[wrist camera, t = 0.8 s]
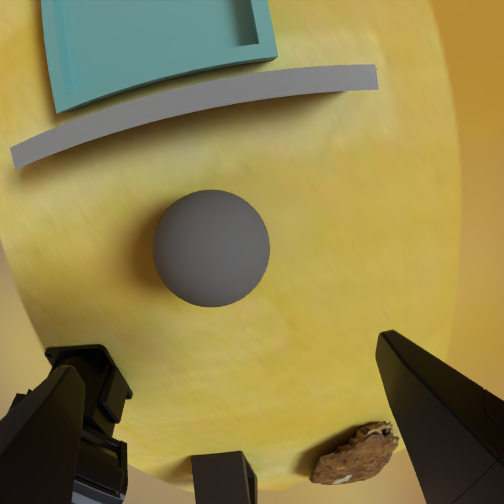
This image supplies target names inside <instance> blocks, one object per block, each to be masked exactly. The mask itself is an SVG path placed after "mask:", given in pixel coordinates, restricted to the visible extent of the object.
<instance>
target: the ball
mask: <svg viewBox="0 0 504 504" xmlns="http://www.w3.org/2000/svg"><path fill="white" fill-rule="evenodd" d="M269 254H270V244H269V236H268V232H267V229H266V227H265V224H264V222H263V220H262V219H261V217H260V215H259V214H258V213H257V211H256V210H255V209H254V208H253V207H252V206H251V205H250V204H249V203H248V202H246V201H245V200H244V199H242V198H240V197H238V196H237V195H234V194H232V193H229V192H225V191H220V190H203V191H197V192H194V193H191V194H189V195H186V196H184V197H183V198H181V199H179V200H178V201H176V202H175V203H174V204H173V205H171V206H170V208H169V209H168V210H167V211H166V212H165V213H164V215H163V216H162V218H161V219H160V221H159V223H158V225H157V228H156V231H155V234H154V239H153V258H154V262H155V266H156V269H157V272H158V274H159V276H160V278H161V279H162V281H163V282H164V284H165V285H166V286H167V288H168V289H169V290H170V291H171V292H172V293H174V294H175V295H176V296H177V297H179V298H181V299H182V300H184V301H186V302H188V303H191V304H193V305H197V306H201V307H221V306H226V305H229V304H232V303H234V302H236V301H239V300H240V299H242V298H244V297H245V296H246V295H248V294H249V293H250V292H251V291H252V290H253V289H254V288H255V287H256V286H257V285H258V283H259V282H260V280H261V278H262V277H263V275H264V273H265V271H266V268H267V265H268V260H269Z"/></svg>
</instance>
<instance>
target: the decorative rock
mask: <svg viewBox="0 0 504 504" xmlns="http://www.w3.org/2000/svg"><path fill="white" fill-rule="evenodd" d="M392 431H393V429H392V425H391V422H389V423H386V422H385V421H383V422H377V423H372V424H371V425H368V426H363V427H361V428H360V429H358V430H357V433H356V436H355V438H351V439H350V440H349V443H348V444H347V445H344V446H338V447H337V449H336V451H333V453H331V454H328V455H325V456H320V460H319V461H318V463H317V465H316V467H315V469H313V470H312V472H311V476H310V478H309V480H310V481H311V482H312V483H321V484H326V485H337V484H346V483H352V482H356V481H363V480H366V479H369V478H371V477H373V476H376V475H377V474H378V473H379V472H380V470H382V468H383V467H384V466H385V465H386V464H387V463H388V462H389V460H390V458H391V456H392V452H393V451H394V450H395V449H396V447H397V446H398V441H399V437H396V436H393V433H392Z"/></svg>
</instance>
